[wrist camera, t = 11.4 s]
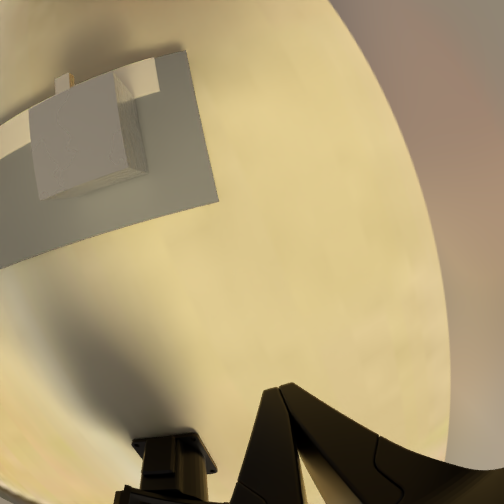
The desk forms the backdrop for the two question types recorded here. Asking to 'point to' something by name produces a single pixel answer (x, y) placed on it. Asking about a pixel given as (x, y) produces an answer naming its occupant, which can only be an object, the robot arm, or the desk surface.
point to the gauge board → (121, 194)
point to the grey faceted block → (85, 137)
